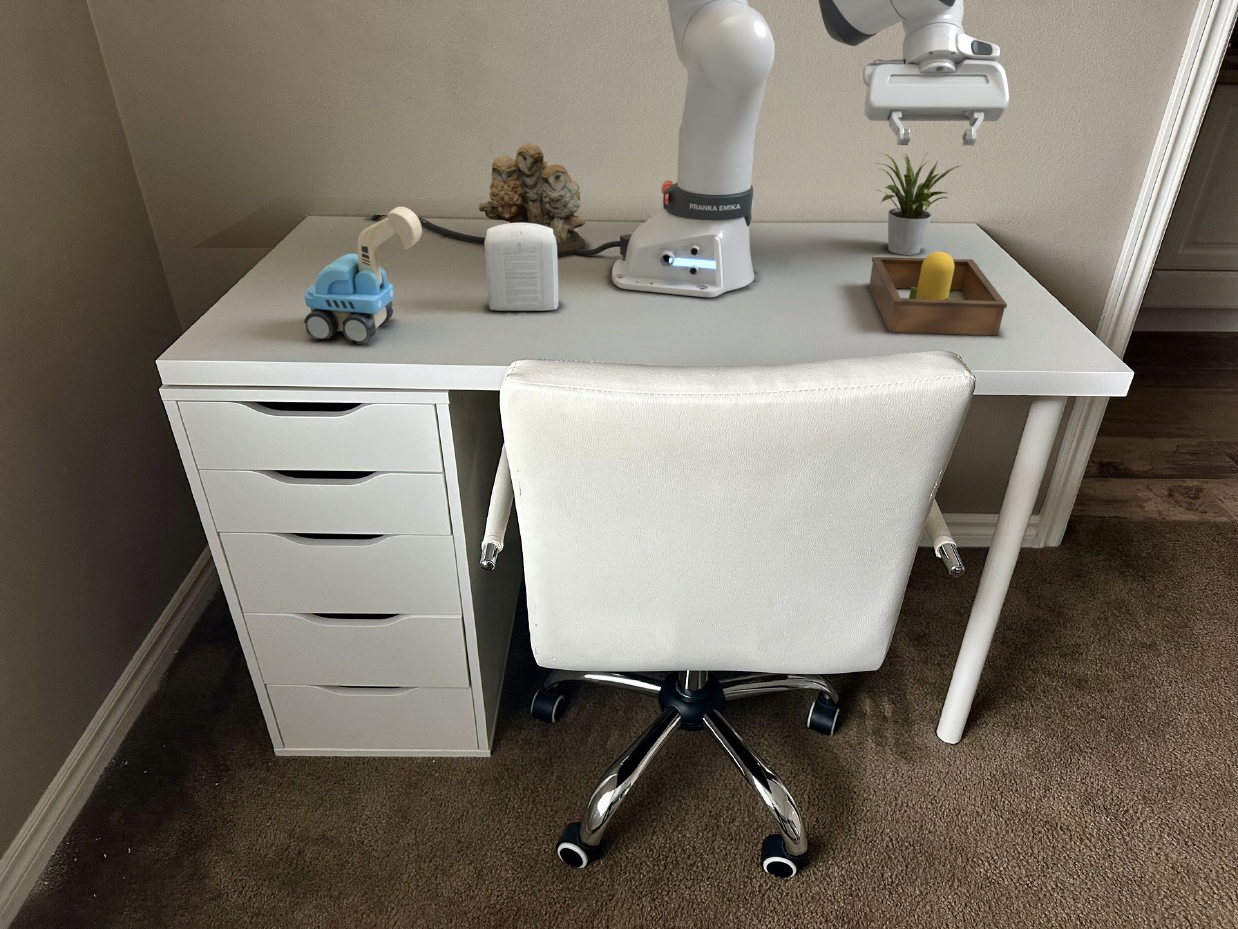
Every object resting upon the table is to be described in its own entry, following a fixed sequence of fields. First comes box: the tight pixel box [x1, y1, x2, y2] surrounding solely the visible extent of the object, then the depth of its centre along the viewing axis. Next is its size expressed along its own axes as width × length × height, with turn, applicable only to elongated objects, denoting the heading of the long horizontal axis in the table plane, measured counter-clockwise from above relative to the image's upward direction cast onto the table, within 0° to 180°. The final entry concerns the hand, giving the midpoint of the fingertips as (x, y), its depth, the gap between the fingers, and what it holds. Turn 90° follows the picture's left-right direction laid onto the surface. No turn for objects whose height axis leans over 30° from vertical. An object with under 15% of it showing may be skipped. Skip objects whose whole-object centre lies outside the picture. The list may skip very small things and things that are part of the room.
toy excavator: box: [303, 206, 423, 345], centre depth 116 cm, size 9×17×17 cm, turn 80°
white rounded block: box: [483, 222, 560, 311], centre depth 125 cm, size 10×4×12 cm, turn 92°
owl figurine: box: [478, 142, 587, 258], centre depth 147 cm, size 18×12×17 cm, turn 88°
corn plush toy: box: [908, 251, 954, 300], centre depth 125 cm, size 5×5×8 cm
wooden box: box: [868, 256, 1008, 336], centre depth 126 cm, size 15×18×5 cm
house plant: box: [874, 151, 961, 256], centre depth 146 cm, size 14×14×16 cm
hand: (936, 143), depth 128 cm, fingers open, 8 cm apart
